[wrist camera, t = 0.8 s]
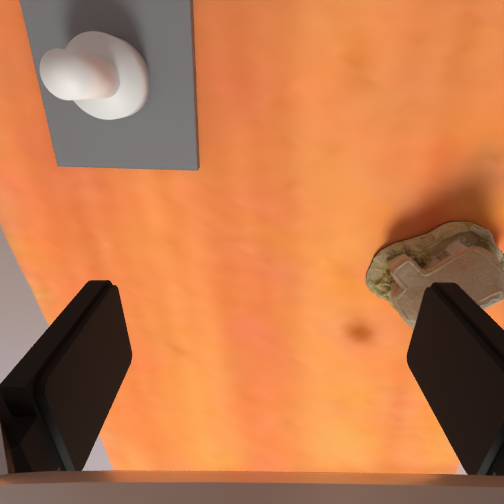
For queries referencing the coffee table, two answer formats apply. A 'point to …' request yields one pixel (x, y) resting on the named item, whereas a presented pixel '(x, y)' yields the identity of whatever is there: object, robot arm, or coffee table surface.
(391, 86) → the coffee table surface
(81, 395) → the robot arm
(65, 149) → the post plate
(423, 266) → the ceramic model
